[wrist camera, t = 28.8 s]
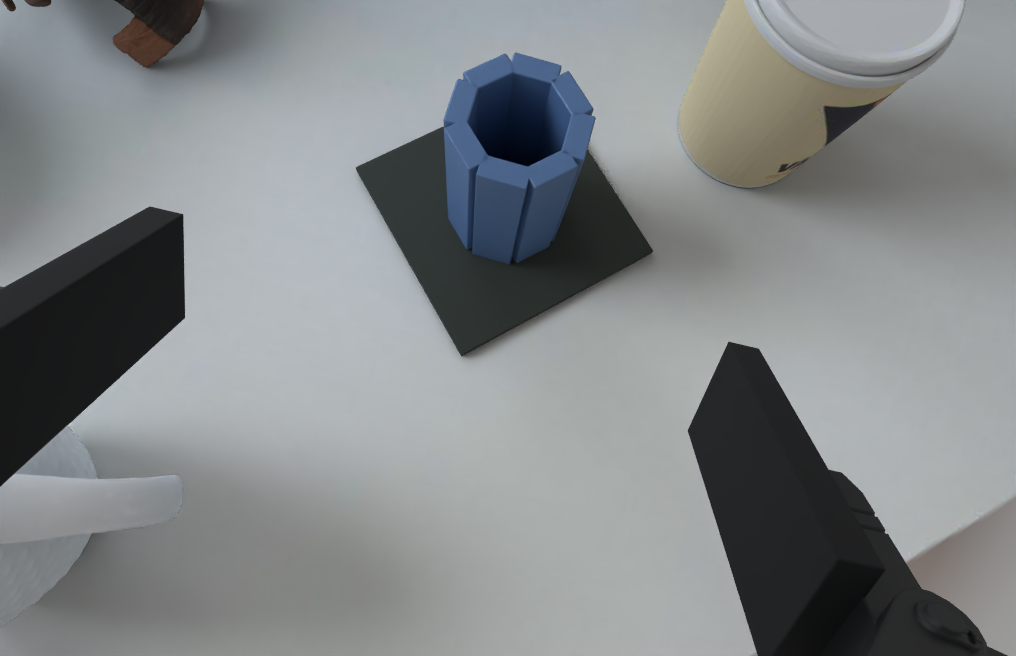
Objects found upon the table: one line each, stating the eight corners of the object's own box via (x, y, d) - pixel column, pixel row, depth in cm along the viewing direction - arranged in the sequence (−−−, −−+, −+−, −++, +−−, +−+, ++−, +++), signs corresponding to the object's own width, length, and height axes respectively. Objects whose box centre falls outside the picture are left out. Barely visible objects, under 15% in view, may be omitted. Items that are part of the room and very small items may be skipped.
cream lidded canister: (769, 232, 36) (914, 112, 25) (632, 141, 37) (711, -17, 25) (844, 117, 38) (1010, -43, 27) (714, 33, 39) (820, -158, 28)
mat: (356, 170, 35) (355, 167, 35) (541, 84, 38) (542, 80, 37) (461, 356, 33) (461, 354, 33) (651, 253, 35) (653, 250, 35)
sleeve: (430, 189, 35) (421, 90, 26) (524, 143, 36) (545, 34, 27) (484, 280, 34) (492, 209, 25) (580, 230, 35) (619, 146, 26)
